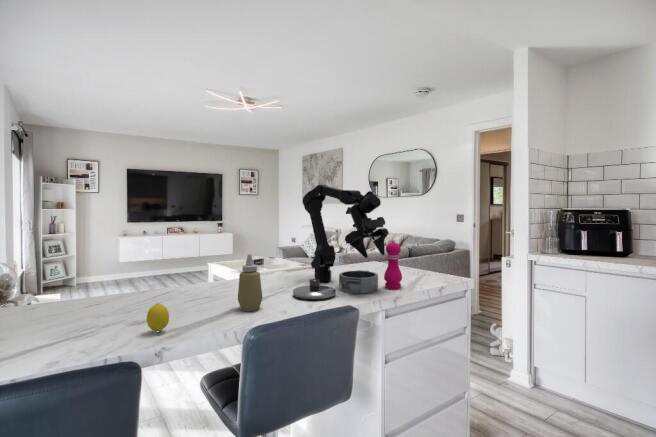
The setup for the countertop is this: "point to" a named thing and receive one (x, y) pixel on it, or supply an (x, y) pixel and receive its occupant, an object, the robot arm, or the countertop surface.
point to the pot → (358, 282)
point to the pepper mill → (393, 266)
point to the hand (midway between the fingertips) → (375, 256)
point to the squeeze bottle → (249, 287)
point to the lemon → (157, 317)
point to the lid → (314, 291)
